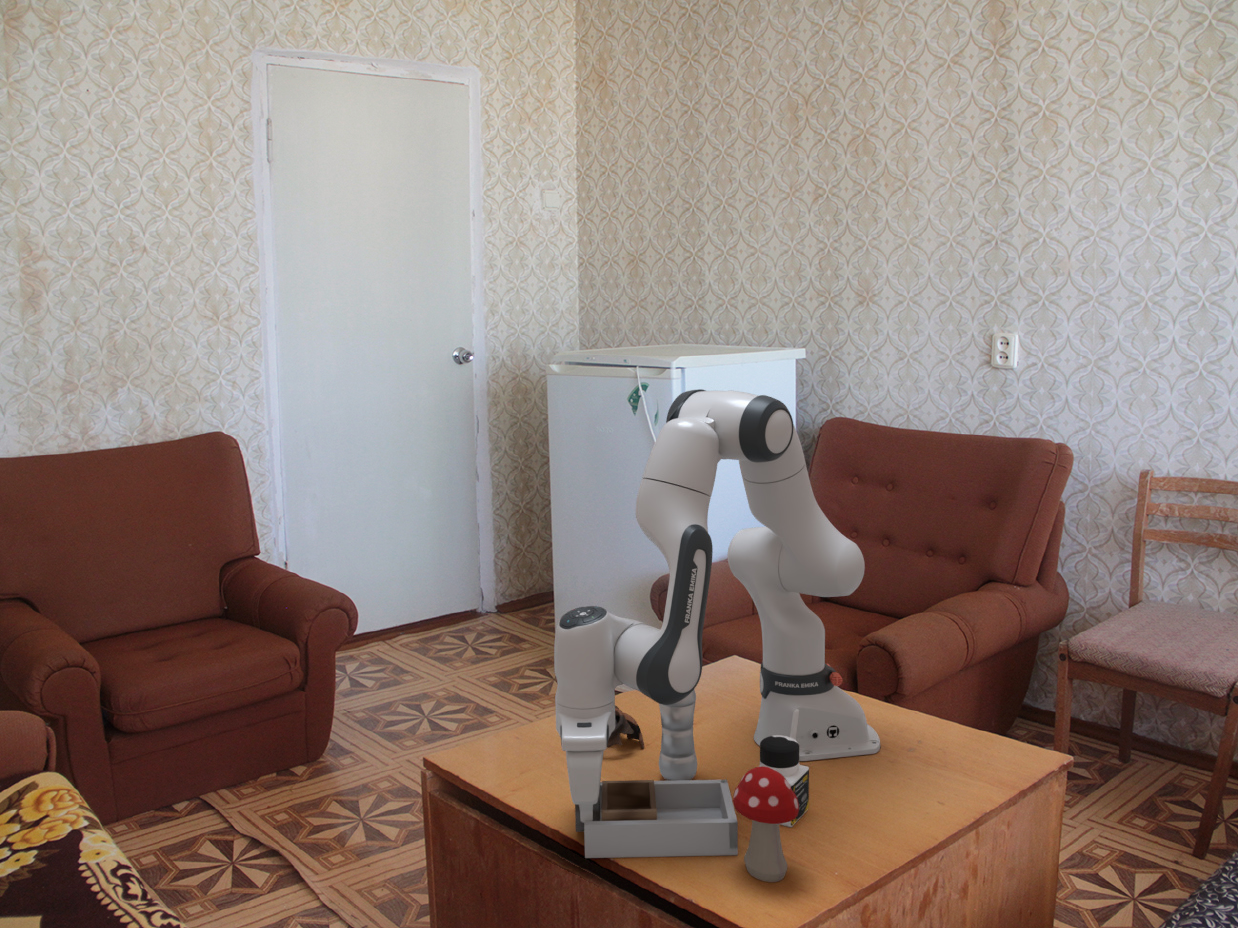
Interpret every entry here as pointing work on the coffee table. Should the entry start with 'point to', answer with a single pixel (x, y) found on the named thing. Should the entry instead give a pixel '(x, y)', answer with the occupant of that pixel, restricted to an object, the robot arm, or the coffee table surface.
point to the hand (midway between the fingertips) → (587, 805)
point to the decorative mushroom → (765, 820)
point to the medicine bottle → (787, 768)
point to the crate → (623, 802)
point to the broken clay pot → (625, 729)
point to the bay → (671, 824)
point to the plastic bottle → (678, 740)
